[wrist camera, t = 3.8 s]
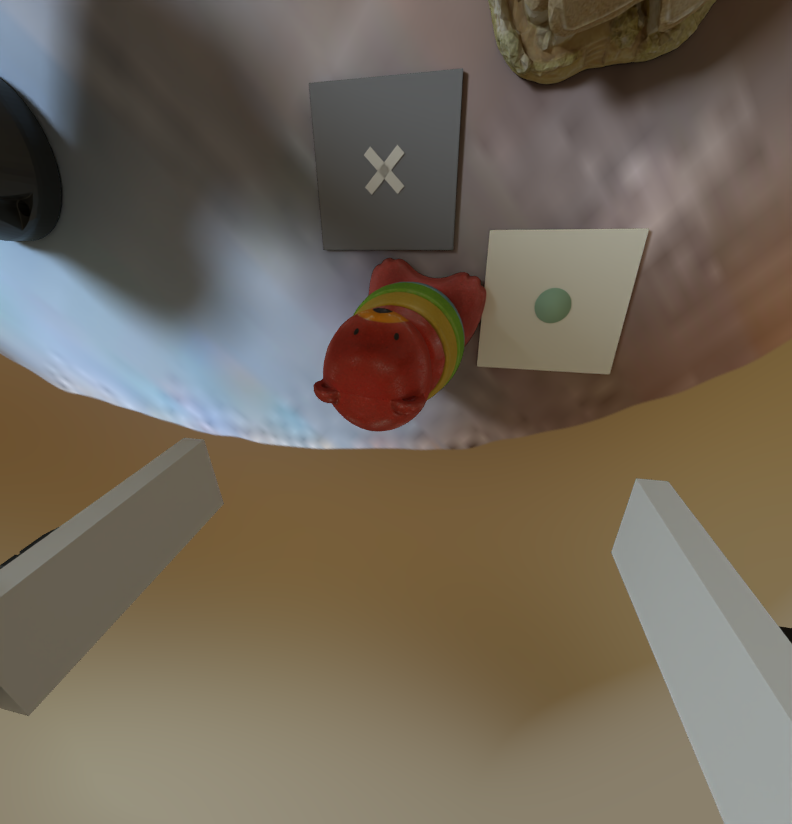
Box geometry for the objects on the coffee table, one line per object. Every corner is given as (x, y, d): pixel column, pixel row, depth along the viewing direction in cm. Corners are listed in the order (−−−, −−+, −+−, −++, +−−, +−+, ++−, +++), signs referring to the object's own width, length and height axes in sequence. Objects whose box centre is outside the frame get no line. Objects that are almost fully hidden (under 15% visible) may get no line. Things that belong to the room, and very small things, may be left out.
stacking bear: (492, 277, 32) (487, 325, 16) (463, 381, 37) (438, 492, 21) (376, 253, 33) (270, 275, 18) (363, 355, 38) (271, 442, 23)
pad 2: (476, 365, 36) (476, 366, 35) (489, 230, 31) (490, 230, 30) (608, 372, 34) (609, 374, 33) (647, 228, 28) (649, 228, 28)
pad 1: (325, 249, 34) (323, 249, 34) (310, 85, 29) (308, 82, 28) (453, 249, 32) (452, 249, 31) (463, 70, 26) (462, 67, 26)
